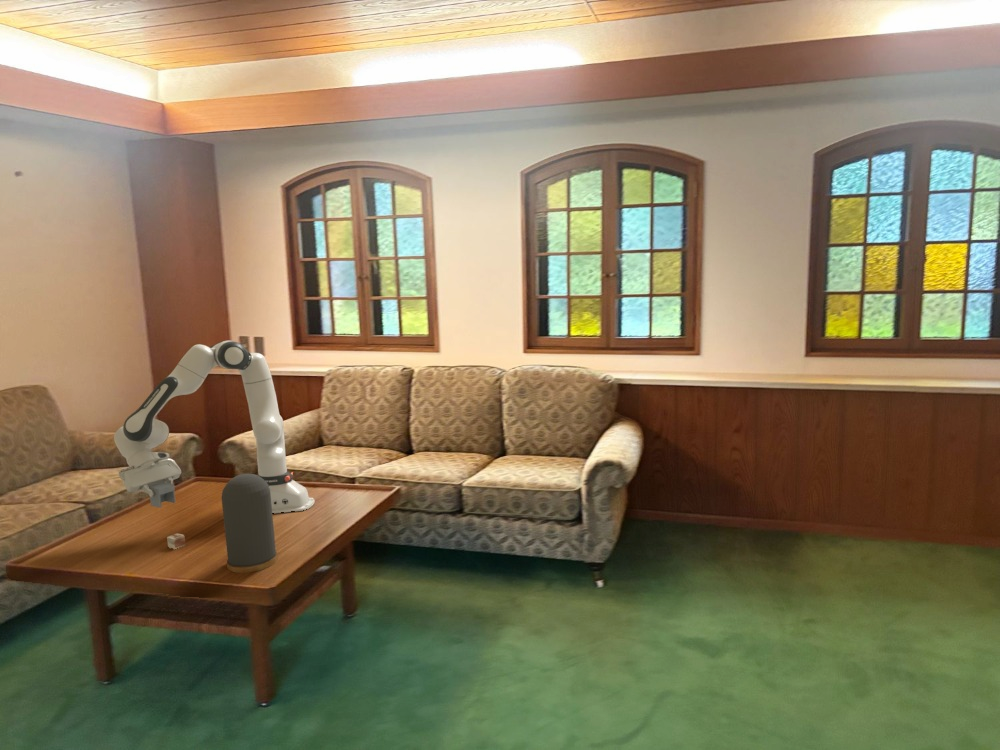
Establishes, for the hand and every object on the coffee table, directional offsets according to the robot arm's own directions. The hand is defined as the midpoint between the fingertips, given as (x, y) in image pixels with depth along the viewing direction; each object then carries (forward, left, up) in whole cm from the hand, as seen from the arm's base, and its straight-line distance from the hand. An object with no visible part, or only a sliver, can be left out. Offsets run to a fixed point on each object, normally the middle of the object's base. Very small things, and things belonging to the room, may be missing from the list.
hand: (163, 492), depth 252 cm
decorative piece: (-40, +24, -18) cm, 50 cm away
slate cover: (+1, 0, -4) cm, 4 cm away
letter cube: (-7, +8, -18) cm, 20 cm away
